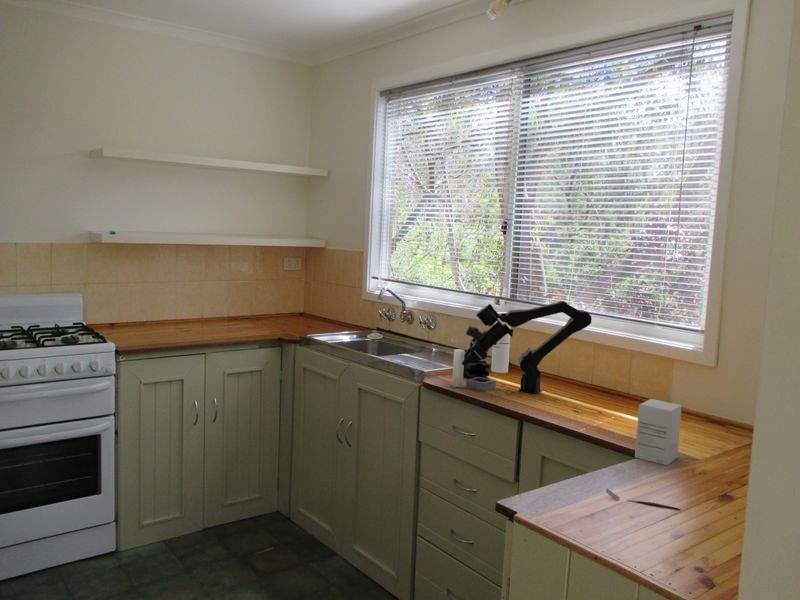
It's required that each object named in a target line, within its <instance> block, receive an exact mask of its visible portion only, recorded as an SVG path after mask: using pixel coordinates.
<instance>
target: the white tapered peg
mask: <svg viewBox="0 0 800 600" xmlns="http://www.w3.org/2000/svg"><path fill="white" fill-rule="evenodd" d="M465 353H466V352H465V349H461V348H456V349H454V350H453V363H452V364H453V366H452V380H451V381H452V382H451V387H452V386H453V387H452V388H455V387H462V386H463V385H464V384H463V383H464V376H463V371H464V365H462V362H463V361H464V354H465ZM463 387H464V386H463ZM463 387H462V388H463Z"/></svg>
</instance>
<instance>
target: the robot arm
mask: <svg viewBox="0 0 800 600" xmlns="http://www.w3.org/2000/svg"><path fill="white" fill-rule="evenodd" d="M497 312H498V311H497V310H495V308H494V307H493V304H491V303H489V304H487V305H486V306H484V307H481V309H480V310H479V311H478V312H477V313H476V314H475V316H476V317H477V318H478V319H479V320H480V321H481V323H482V324H483V325H484V326H485V327H487V326H488V327H490V328H488V329H487V330H483V331H481V330H480V329H479V328H477V327H476V326H475V327H473V326H472V325H469V326H468V327H467V329H466V331H465V335H467V336H470V337H472V338H471V339H470V342H469V348H468V349H467V350H466V352H465V354H464V361H463V362H462V365H467V364H470V363H473V362H477V361H485V359H486V358H487V357H488V352H489V350H490V349H491V348H493V345H496V344H497V342H498V341H499V340H501V339H502V338H503V337H504V336H505V335H506V334H509V335H510V338H513V337H514V335H513V333H514V331H515V330H514V328H518V327H520V326H522V325H524V324H526V323H528V322H530V321H532V320H536V319H540V318H544V317H548V316H552V315H558V314H560V313H563V314H564V315H567V316H568V317H570V318H569V319H568V320H567V321H566V323H565V324H564V325H563V326H562V327H561V328H560V329H558V330H557V331H555V333H554V334H552V335H551V336H550V337H549V338H547V339H546V340H545V341H544V342H543V343H542V344H540V345H539V346H538V347H537V348H534V349H532V350H531V348H529V347H528V348H527V349H526V350H525V351H524V352H523V353H520V357H519V358H518V366H519V368H520V369H521V371H522V372H523V373H522V375H521V377H520V384H519V385H520V388H519V389H518V391H519V392H523V393H524V392H525V393H528V394H532V395H534V394H538V393H541V392H543V390H542V389H541V382H542V381H541V379H542V375H541V374H542V371H541V370H540V369H539V367H538V366H539V365H540V363H541V362H542V361H543V359H544V357H546V356H547V355H548V354H549V353H551V352H552V351H554V349H555V348H557V347H558V346H559V345H561V344H562V343H563V342H564V341H565V340H567V339H568V338H569V337H570V336H572V335H573V334H575V333H577V332H580V331H582V330H584V329H585V328H588V327H589V326H591V324H592V320H593V318H592V316H591V314H590V313H589V312H588V311H586V310H584V309H577V308H576V307H573V306H572V305H571V304H568V303H567V302H566V301H564V300H559V301H558V302H554V303H550V304H549V303H548V304H544V305H541V306H537V307H534V308H529V309H527V308H525V309H511V310H508V311H507V312H506V313H501V314H498V313H497ZM498 318H499V319H500V320H501V321H502V322H506V323H507V324H508V325H509V326H511V329H510V328H509V327H508V326H507V325H506V324H502V323H501V322H500V321H499V320H498ZM496 321H498V322H497V323H496V324H495V325H494V323H495V322H496Z"/></svg>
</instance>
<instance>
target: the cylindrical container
mask: <svg viewBox="0 0 800 600" xmlns="http://www.w3.org/2000/svg"><path fill="white" fill-rule="evenodd" d="M496 312H497V313H498V314H501V313H507V312H504V311H496ZM498 320H499V321H500V322H501V323H502V324H506V325H507V326H508V327H509V328H510V329H512V327H511V326H509V325H508V324H507V323H506V322H502V321H501V320H500V319H499V318H498ZM497 322H498V321H496V322H495V323H494V324H493V325H495V324H496V323H497ZM510 346H511V336H510V335H509V334H506V335H505V336H504V337H503V338H502V339H501V340H499V341H498V342H497V344H496V345H493V346H492V347H491V348H492V350H491V352H492V353H491V366H490V371H491V372H493V373H497V374H506V373H507V374H508V373H509V362H510V361H509V360H510Z"/></svg>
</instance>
